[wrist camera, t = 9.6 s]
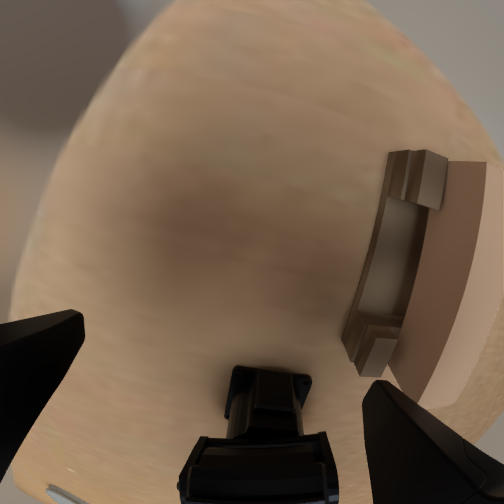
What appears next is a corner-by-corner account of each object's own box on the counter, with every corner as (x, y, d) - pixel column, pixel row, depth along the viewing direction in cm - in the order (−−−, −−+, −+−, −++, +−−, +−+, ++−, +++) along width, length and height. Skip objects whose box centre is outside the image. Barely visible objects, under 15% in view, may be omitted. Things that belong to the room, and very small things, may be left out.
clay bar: (425, 362, 17) (454, 403, 13) (388, 364, 18) (412, 411, 13) (473, 174, 14) (524, 179, 9) (434, 161, 14) (486, 161, 9)
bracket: (430, 345, 20) (454, 375, 16) (341, 338, 20) (356, 376, 16) (479, 187, 17) (517, 194, 12) (389, 152, 17) (422, 148, 12)
